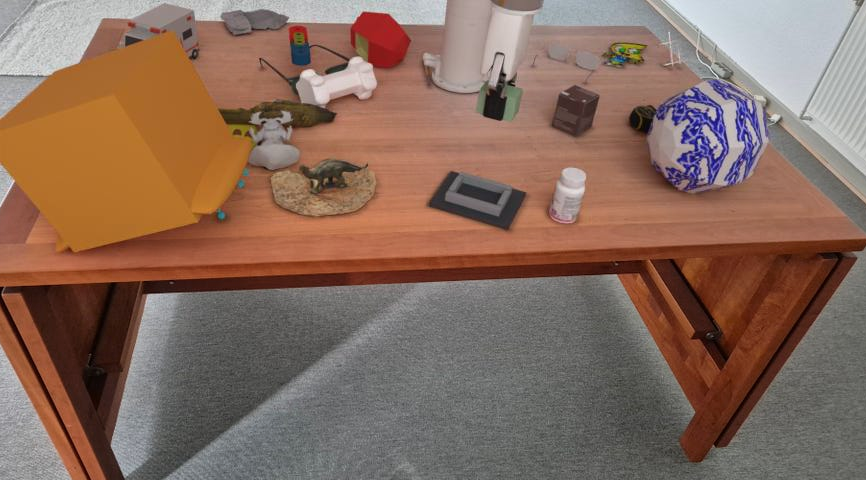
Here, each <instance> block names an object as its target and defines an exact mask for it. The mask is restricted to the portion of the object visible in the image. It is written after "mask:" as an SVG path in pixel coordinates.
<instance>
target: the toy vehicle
mask: <svg viewBox="0 0 866 480" xmlns="http://www.w3.org/2000/svg"><path fill="white" fill-rule="evenodd" d="M127 26H128V27H130V30H128V31H126V32H124V34H123V35H124V36H123V42H121V41H119V49H120V48H123V47H126V46H129V45H132V44H134V43H137V42H140V41H143V40H146V39H149V38H152V37H154V36H157V35H160V34H163V33H166V32H169V31H172V30H173V31H174V33H175V34H176V36H177V38H178V40H179V41H180V43H181V45H182V47H183V48H184V50H185V52H186V54H187V56H188V57H189V58H190V57H191V58H192V59H197V58H198V56H199V52H200V45H199V37H198V30H197V21H196V15H195V9H191V8H190V9H189V8H187V7H182V6H178V5H175V4H171V3H167V2H164V3H162V4H160V5H158V6H156V7H154V8H151V9H149V10H147V11H146V12H143V13H141V14H139V15H137V16H135V17H133V18H131V19H129V21H128V22H127Z"/></svg>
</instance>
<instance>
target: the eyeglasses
mask: <svg viewBox="0 0 866 480" xmlns="http://www.w3.org/2000/svg"><path fill="white" fill-rule="evenodd" d="M546 46H547V54H548V56H549V57H550V58H551V59H554V60H557V61H560V62H562V61H563V62H564V61H566V60H568V59H569V57H570V54H571V53H575V55H574V60H575V62H576V64H577V65H578V67H580V68H583V69H585V70H588V71H592V72H590V74H589V75H588V77H587V78H586V80H585V83H584V84H586V82H587V81H588V79H589V77H590V76H591V75H592V74H593V73H594V71H595V70H596V69H597V68H598V67H599V66H600V64H601V63H602V59H600V56H598V55H596V54H594V53H592V52H588V51H585V50H578V51H574V50H571V48H570V47H569V46H567V45H565V44H562V43H558V42H553V41H552V42H549V43H546V44H545V45H544V46H543V47H542V49H541V50H539V52H538V53H537V54H536V55H535V56H534V58H533V63H532V67H534V64H535V60H536V58H537V57H538V55H539V54H540V53H541V52H542V51H543V50H544V49H545V48H546Z"/></svg>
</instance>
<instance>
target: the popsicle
mask: <svg viewBox="0 0 866 480" xmlns="http://www.w3.org/2000/svg"><path fill="white" fill-rule="evenodd" d="M225 123H226V124H227V126H228V128H229V130H230V131H231V133H232V135H233V137H234V138H249V139H250V140H251V151H252V150H253V149H254V147H256V142H254V143H253V138H252V136H251V134H250V133H249V132H250V128H251V127H252V130H253V129H254V134H255V136H256V134H257V132H258V129H257V127H256V124H250V123H230V122H225ZM257 146H259V142H258V143H257Z"/></svg>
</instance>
